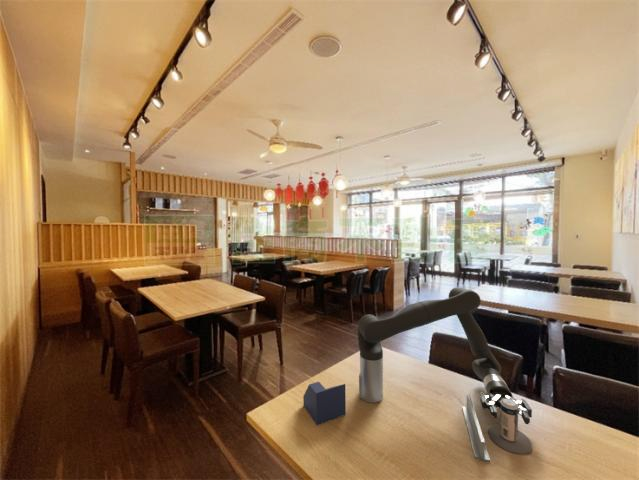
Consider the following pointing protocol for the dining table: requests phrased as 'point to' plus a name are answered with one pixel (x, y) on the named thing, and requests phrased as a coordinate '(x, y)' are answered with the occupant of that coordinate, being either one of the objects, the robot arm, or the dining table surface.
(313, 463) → the dining table surface
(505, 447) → the coaster
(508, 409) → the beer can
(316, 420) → the phone stand
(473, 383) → the dining table surface
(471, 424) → the low wall
